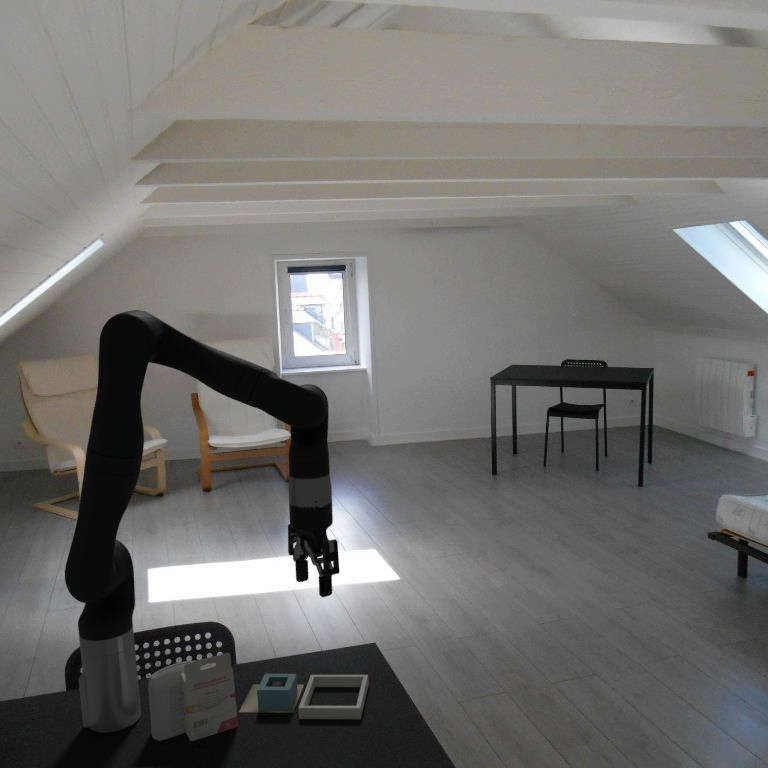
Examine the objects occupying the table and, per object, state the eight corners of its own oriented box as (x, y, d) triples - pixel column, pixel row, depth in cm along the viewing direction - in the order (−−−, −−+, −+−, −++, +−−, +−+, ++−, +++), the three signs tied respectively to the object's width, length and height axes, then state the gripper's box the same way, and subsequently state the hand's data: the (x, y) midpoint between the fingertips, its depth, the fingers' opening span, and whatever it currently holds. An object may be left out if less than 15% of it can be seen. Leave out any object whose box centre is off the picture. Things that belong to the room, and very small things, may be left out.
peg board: (239, 717, 145) (237, 693, 144) (253, 689, 155) (251, 667, 154) (293, 717, 144) (291, 694, 143) (304, 689, 154) (302, 667, 153)
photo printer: (205, 716, 145) (199, 651, 144) (213, 726, 142) (208, 660, 140) (148, 736, 140) (142, 669, 138) (156, 747, 136) (150, 678, 135)
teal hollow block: (258, 710, 145) (256, 689, 144) (268, 688, 153) (267, 668, 152) (291, 710, 144) (289, 690, 144) (299, 688, 152) (298, 668, 152)
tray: (299, 723, 142) (298, 708, 141) (311, 689, 153) (311, 674, 153) (361, 724, 140) (360, 708, 140) (368, 689, 152) (368, 674, 152)
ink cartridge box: (230, 719, 144) (224, 641, 142) (239, 732, 140) (232, 652, 138) (183, 733, 140) (176, 653, 139) (190, 747, 136) (183, 665, 134)
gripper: (272, 494, 143) (276, 581, 146) (311, 512, 132) (315, 606, 134) (309, 487, 148) (312, 572, 150) (350, 504, 136) (353, 595, 138)
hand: (313, 588), depth 142 cm, fingers open, 8 cm apart
